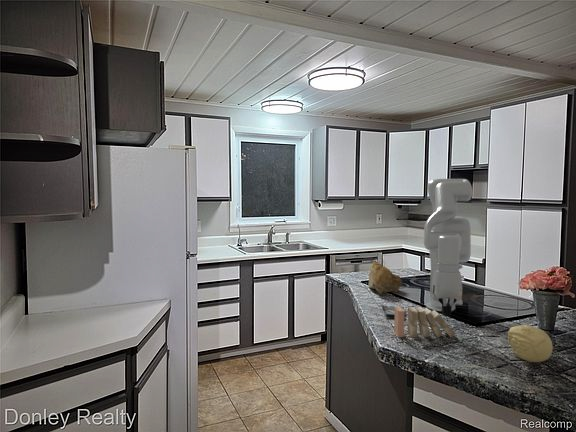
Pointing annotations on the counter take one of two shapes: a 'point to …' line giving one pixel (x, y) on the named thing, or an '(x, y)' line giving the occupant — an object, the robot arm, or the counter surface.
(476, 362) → the counter surface
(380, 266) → the rough brown rock
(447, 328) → the domino
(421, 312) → the domino
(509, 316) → the counter surface
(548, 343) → the yellow oval melon
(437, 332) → the domino
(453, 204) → the robot arm
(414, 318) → the domino
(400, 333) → the domino
